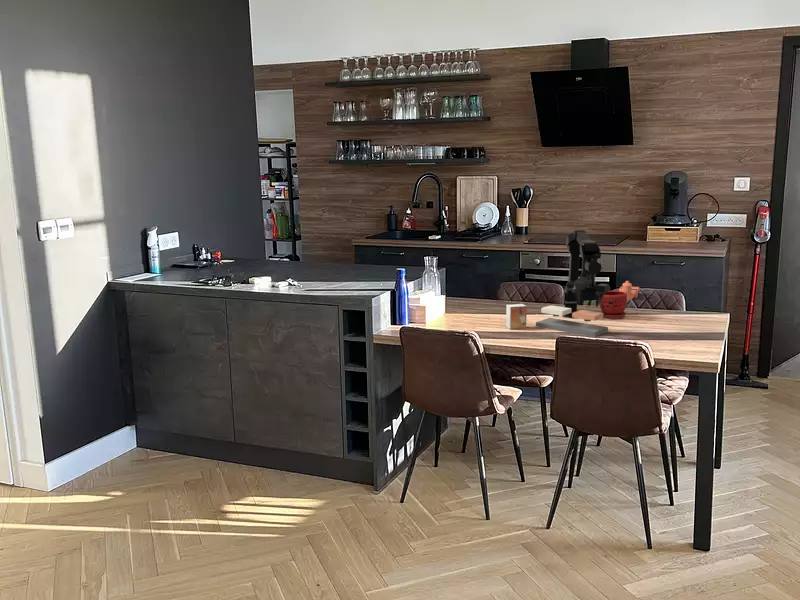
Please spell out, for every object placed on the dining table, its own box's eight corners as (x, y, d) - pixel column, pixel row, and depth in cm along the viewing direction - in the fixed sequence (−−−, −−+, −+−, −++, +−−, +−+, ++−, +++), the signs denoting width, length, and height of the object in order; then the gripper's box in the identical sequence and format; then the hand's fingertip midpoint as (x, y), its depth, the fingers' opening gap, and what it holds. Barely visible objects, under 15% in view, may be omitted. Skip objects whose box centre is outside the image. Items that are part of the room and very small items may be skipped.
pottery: (621, 293, 435) (621, 276, 433) (639, 294, 431) (639, 276, 429) (616, 299, 418) (617, 281, 416) (634, 301, 415) (635, 282, 413)
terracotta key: (581, 317, 357) (581, 309, 356) (603, 320, 350) (603, 313, 349) (572, 320, 351) (572, 312, 350) (594, 324, 344) (594, 316, 343)
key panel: (549, 321, 371) (549, 317, 370) (608, 331, 351) (608, 327, 351) (535, 326, 362) (535, 322, 362) (594, 336, 342) (595, 332, 342)
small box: (509, 329, 358) (510, 306, 355) (505, 326, 363) (506, 304, 361) (526, 328, 359) (527, 305, 357) (522, 325, 364) (522, 303, 362)
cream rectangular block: (550, 312, 367) (550, 305, 367) (571, 315, 360) (571, 308, 359) (541, 315, 362) (541, 308, 361) (562, 319, 354) (562, 311, 354)
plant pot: (622, 313, 385) (623, 289, 382) (629, 320, 372) (630, 295, 369) (595, 314, 385) (596, 290, 383) (601, 320, 372) (602, 295, 370)
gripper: (560, 270, 346) (559, 305, 349) (598, 275, 334) (597, 311, 337) (573, 267, 354) (572, 301, 357) (611, 271, 342) (610, 307, 345)
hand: (587, 305), depth 349 cm, fingers open, 9 cm apart
